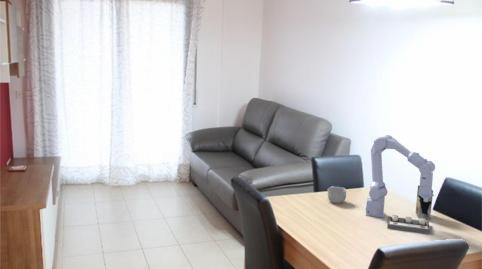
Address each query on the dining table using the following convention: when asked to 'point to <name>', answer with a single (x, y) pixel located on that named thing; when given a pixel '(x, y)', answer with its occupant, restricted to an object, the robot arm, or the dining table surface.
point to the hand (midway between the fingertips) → (423, 211)
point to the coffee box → (419, 210)
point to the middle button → (408, 220)
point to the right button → (422, 221)
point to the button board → (408, 225)
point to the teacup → (336, 194)
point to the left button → (394, 218)
